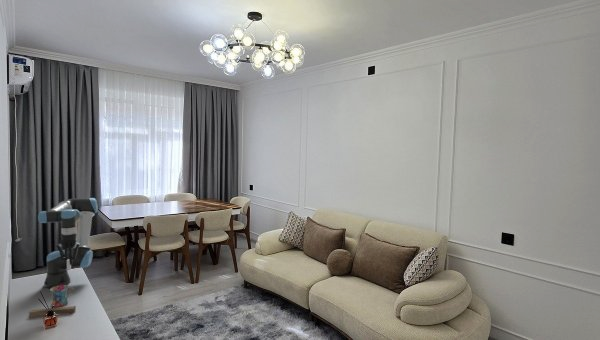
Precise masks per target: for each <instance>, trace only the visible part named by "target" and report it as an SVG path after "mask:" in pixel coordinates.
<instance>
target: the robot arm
mask: <svg viewBox="0 0 600 340" xmlns="http://www.w3.org/2000/svg"><path fill="white" fill-rule="evenodd" d="M98 208H99V206H98V200H97V199H96V198H95V197H82V198H81V197H79V198H78V197H77V198H75V197H74V198H70V199H69V198H68V199H65V200H63V201H60V202H59V203H58V204H57V205H56V206H54V207H52V208H51V209H49V210H48V211H47V210H43V211H40V212H39V213H38V215H37V221H38V222H39V223H40V224H49V223H60V224H61V241H60V243H59V244H57V245H56V248H57V249H58V250H56V251H55V250H54V251H52V252H49V254H47V256H46V277H45V280H44V282H43V287H44V288H46V289H51V288H53V287H55V286H59V285H69V284H70V283H71V277H70V274H69V272H68V271H70V270H72V269H83V268H88V267H89V266H90V265H91V264H92V261H93V257H94V256H93V255H94V254H93V253H94V251H93V250H91V247H90V246H89V245H90V240H91V239H90V237H91V231H92V230H91V229H92V220H93V217H94V216H96V215H95V214H96V213H98V211H99V209H98ZM76 221H78V223H77V227H76ZM76 228H77V229H76Z"/></svg>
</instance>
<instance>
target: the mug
mask: <svg viewBox="0 0 600 340" xmlns="http://www.w3.org/2000/svg"><path fill="white" fill-rule="evenodd" d="M69 290H71V287H70V286H69V284H67V285H59V286H55V287H53V288H49V291H50V292H51V296H52V302H51V305H50V306H51V307H53V306H52V305H54V307H53V308H58V307H64V306H65V305H67V304H68V303H69V300H68V299H69V297H70V296H72V294H73V293H74V291H75V288H74V287H72V292H71V293H70V294H68V295H67V292H68V291H69Z"/></svg>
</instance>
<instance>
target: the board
mask: <svg viewBox="0 0 600 340" xmlns="http://www.w3.org/2000/svg"><path fill="white" fill-rule="evenodd" d="M52 308H53V311H54V312H55V313H56V314H61V315H71V314H74V313H76V309H77V308H76V305H72V306H59V307H48V308H41V309H40V308H37V309H31V310H30V311H29V312H28V314H29V315H28V316H29V318H36V317H37V318H38V317H39V318H40V317H46V316H45V315H46V314H47V312H48V311H51V310H52Z"/></svg>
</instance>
